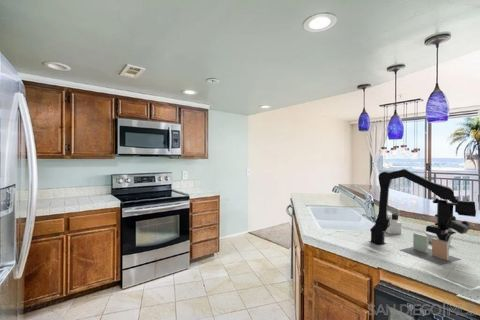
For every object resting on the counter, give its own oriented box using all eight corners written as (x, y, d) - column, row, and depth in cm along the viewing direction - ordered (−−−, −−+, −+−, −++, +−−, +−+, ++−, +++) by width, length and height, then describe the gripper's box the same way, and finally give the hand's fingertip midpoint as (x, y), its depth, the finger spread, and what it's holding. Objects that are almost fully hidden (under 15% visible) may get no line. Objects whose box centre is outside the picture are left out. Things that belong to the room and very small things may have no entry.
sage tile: (426, 253, 116) (426, 236, 116) (413, 248, 122) (413, 233, 122) (428, 252, 117) (428, 236, 117) (415, 248, 123) (415, 232, 122)
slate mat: (440, 266, 103) (440, 265, 103) (398, 251, 120) (398, 250, 120) (461, 260, 109) (461, 259, 109) (419, 246, 126) (419, 245, 126)
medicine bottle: (395, 230, 153) (395, 212, 153) (401, 234, 146) (401, 214, 145) (383, 230, 154) (383, 211, 153) (389, 234, 146) (389, 214, 146)
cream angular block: (446, 260, 109) (446, 242, 108) (431, 255, 114) (432, 238, 114) (448, 259, 109) (449, 242, 109) (433, 254, 115) (434, 238, 115)
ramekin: (420, 241, 135) (420, 231, 135) (433, 238, 139) (433, 229, 139) (443, 248, 124) (443, 238, 124) (456, 245, 128) (456, 235, 128)
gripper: (454, 219, 102) (453, 255, 102) (477, 215, 109) (477, 249, 109) (425, 213, 112) (424, 246, 112) (448, 210, 119) (448, 241, 119)
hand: (444, 245), depth 113 cm, fingers closed
